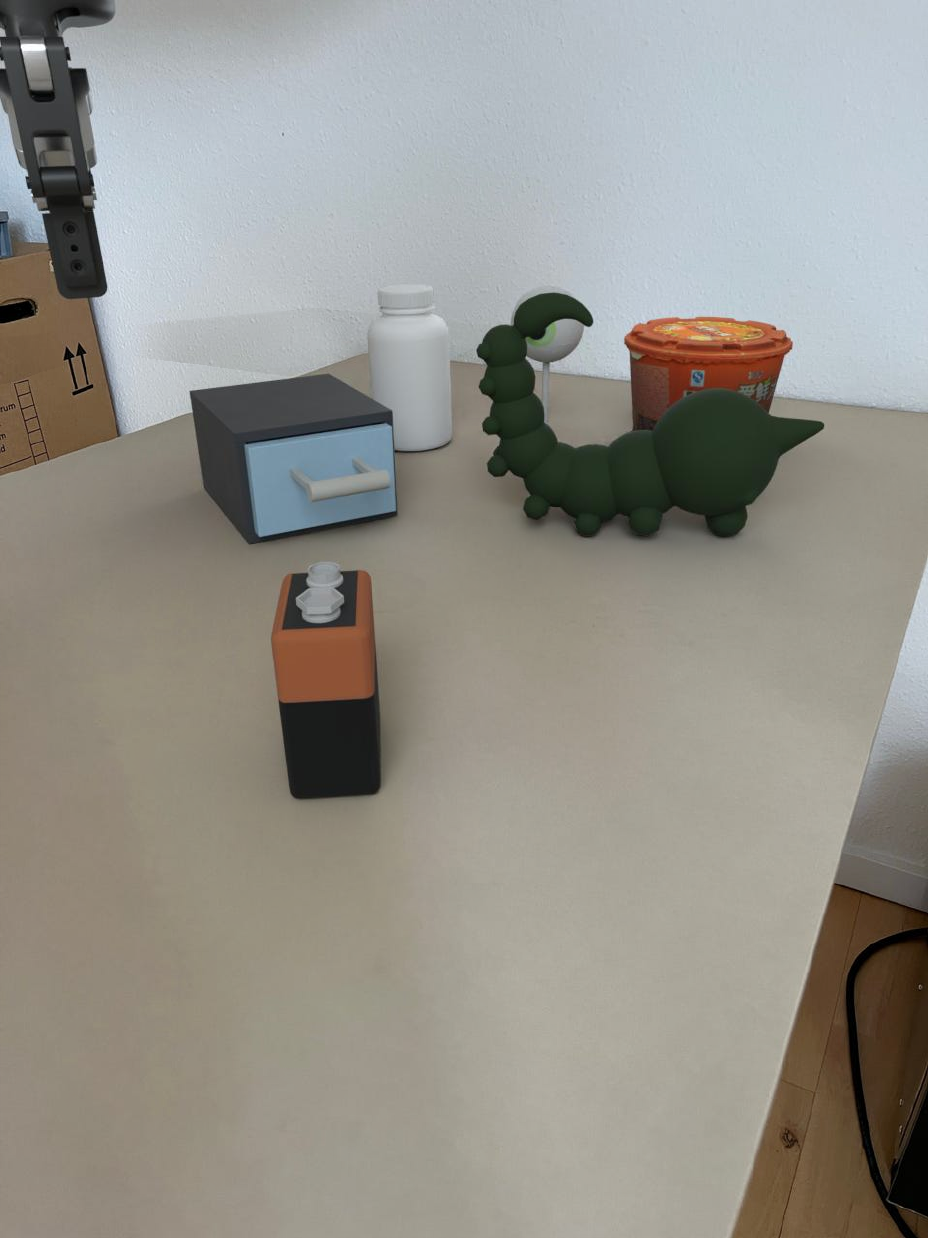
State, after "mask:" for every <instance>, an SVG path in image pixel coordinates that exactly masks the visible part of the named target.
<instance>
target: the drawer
mask: <svg viewBox="0 0 928 1238" xmlns="http://www.w3.org/2000/svg"><path fill="white" fill-rule="evenodd" d="M244 447H245V455H246V463H247V471H248V479H249V487H250V495H251V503H252V511H253V519H254V527H255V532H256V534H257V535H258V536H259V537H263V536H268V535H273V534H279V533H284V532H289V531H294V530H299V529H305V528H310V527H315V526H320V525H326V524H331V523H336V522H341V521H346V520H352V519H357V518H362V517H367V516H372V515H378V514H383V513H388V512H393V511H396V498H395V478H394V458H393V438H392V427H391V426H390V425H388V424H386V423H385V424H378V425H372V424H366V425H359V426H353V427H346V428H339V429H333V430H326V431H319V432H312V433H306V434H299V435H292V436H286V437H279V438H272V439H266V440H259V441H252V442H246V444H245V445H244Z"/></svg>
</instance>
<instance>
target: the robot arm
mask: <svg viewBox="0 0 928 1238" xmlns="http://www.w3.org/2000/svg"><path fill="white" fill-rule="evenodd" d="M115 15H116V2H115V0H0V29H1V30H3V31H4V34H5V36H0V62H3V63H4V68H1V67H0V103H1V106H2V110H3V112H4V113H5V114H7V117H8V122H9V129H10V134H11V135H10V136H11V139H12V140H11V141H12V145H13V149H14V152H15V155H16V159H17V163H18V164H19V166H20V167H21V169H24V170H26V172H27V176H26V175H25V177H24V178H25V183H26V187H27V190H30V196H31V200H32V203H33V204H36V207H37V211H38V212H42V213H41V216H42V221H43V225H44V230H45V236H46V240H47V246H48V250H49V255H50V259H51V262H52V263H51V265H52V268H53V273H54V278H55V282H56V287H57V291H58V293H59V294H60V295H61V296H62V297H63V298H65V299H67V300H77V299H91V298H93V299H94V298H101V297H103V296H104V295H106V293H107V292H108V282H107V277H106V272H105V264H104V260H103V255H102V250H101V245H100V239H99V233H98V228H97V222H96V218H95V212H94V209H96V205H95V201H98V198H97V192H96V188H95V181H94V175H93V173H92V170H91V169H92V168H94V167H96V165H97V164H98V155H97V150H96V144H95V143H96V142H95V138H94V132H93V127H92V122H91V117H90V115H91V114H92V113H93V109H94V106H93V105H94V104H93V99H92V93H91V87H90V82H89V76H88V71H87V68H86V67H71V66H69V63H68V61H69V62H71V61H72V58H71V52H70V47H69V46H65V41H64V36H63V34H64V32H65V31H66V30H68V29H70V28H77V29H83V28H92V27H97V26H98V27H99V26H103V25H105V24H108V23H110V22H111V21H112V20H113V19H114V17H115Z"/></svg>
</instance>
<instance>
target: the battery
mask: <svg viewBox="0 0 928 1238" xmlns="http://www.w3.org/2000/svg"><path fill="white" fill-rule="evenodd" d="M372 587H373V585H372V578H371V575H370V573H369V572H368V571H366V570H364V569H356V570H341V567H340V565H339V564H338V563H336V562H333V561H319V562H316V563H312V564H311V565H309V567H307V572H294V573H293V572H292V573H288V574H286V575H285V576H284V577H283V579H282V583H281V586H280V592H279V595H278V600H277V606H276V611H275V616H274V620H273V625H272V629H271V630H272V631H271V634H270V645H271V653H272V662H273V670H274V676H275V683H276V684H275V685H276V693H277V700H278V708H279V716H280V724H281V732H282V740H283V741H282V742H283V749H284V756H285V764H286V772H287V780H288V788H289V792H290V795H291V796H292V797H293V798H294V799H296V800H308V799H322V798H337V797H354V796H369V795H375V794H376V793H378V792H379V790H380V788H381V783H382V781H381V780H382V778H381V775H382V771H381V769H382V768H381V767H382V766H381V765H382V763H381V762H382V761H381V758H382V757H381V706H380V693H379V679H378V678H379V676H378V675H379V674H378V663H377V646H376V632H375V630H376V629H375V619H374V618H375V617H374V615H375V614H374V602H373V600H374V599H373V588H372Z"/></svg>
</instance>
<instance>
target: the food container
mask: <svg viewBox="0 0 928 1238" xmlns="http://www.w3.org/2000/svg"><path fill="white" fill-rule="evenodd" d="M791 339H792V338H791V337H788V336H787V332H786V331H785V330H784V329H777V327H776V325H774V324H771V323H766V322H761V321H757V320H745V321H744V320H743V321H742V320H736V319H735V318H733V317H722V316H721V317H719V316H696V317H695V318H680V317H677V316H675V317H665V318H664V317H663V318H655V319H650V320H647V322H646V323H642V322H638V323H637V324H635V325H633V327H632V328H631V331H629V332H628V333H626V335H625V336H624V338H623V340H624V342H623V344H624V346H626V348H627V350H628V351H629V371H630V389H631V390H630V392H631V394H630V395H631V409H632V410H631V414H632V431H636V430H651V431H653V429H654V427H655V425H656V423H657V422H658V420H659V419H660V417H661V416H662V415H663V414H664V412H665V411H666V410H667V409H668V408H669V407H670V406H672V405H673V404H674V403H675V402H677V401H678V400H679V399H681V398H683V397H685V396H687V395H689V394H691V393H694V392H697V391H701V390H704V389H711V388H723V389H729V390H733V391H737V392H740V393H742V394H744V395H746V396H748V397H750V398H752V399H753V400H755V401H756V402H757V403H759V404H760V405H761V406H762V407H763V408H764V409H765V410H766V411H767V412H768V413H769V414H770V410H771V407H772V404H773V403H772V402H773V399H774V395H775V392H776V388H777V386H778V385H777V384H778V382H779V377H780V374H781V371H782V367H783V363H784V359H785V356H786V355H788V354H789V353H790V352H791V350H793V345H794V342H793V341H792V340H791Z"/></svg>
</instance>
